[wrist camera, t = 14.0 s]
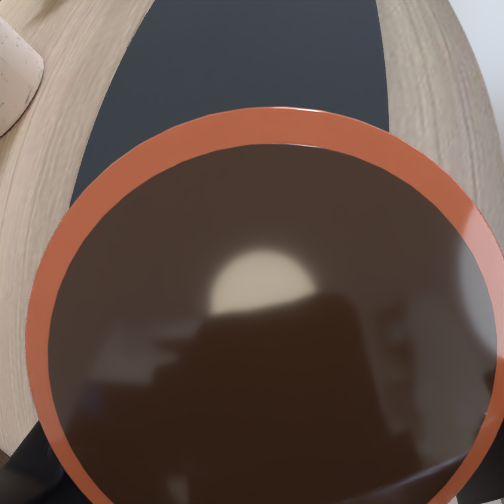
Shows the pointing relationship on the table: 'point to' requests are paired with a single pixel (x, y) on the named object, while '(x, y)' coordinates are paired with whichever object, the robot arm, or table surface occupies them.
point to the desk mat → (239, 68)
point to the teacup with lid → (16, 75)
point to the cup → (270, 320)
